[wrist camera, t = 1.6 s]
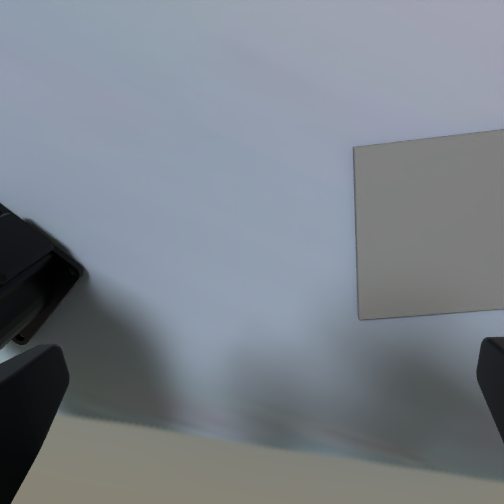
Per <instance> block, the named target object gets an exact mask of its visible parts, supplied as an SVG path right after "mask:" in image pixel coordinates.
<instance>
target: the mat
mask: <svg viewBox="0 0 504 504" xmlns="http://www.w3.org/2000/svg"><path fill="white" fill-rule="evenodd" d="M353 167H354V200H355V234H356V268H357V302H358V317H359V320H364V319H377V318H390V317H403V316H416V315H429V314H442V313H455V312H468V311H481V310H494V309H504V129H502V130H493V131H485V132H476V133H468V134H460V135H451V136H443V137H434V138H426V139H417V140H409V141H401V142H392V143H384V144H375V145H367V146H358V147H353Z"/></svg>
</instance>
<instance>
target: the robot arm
mask: <svg viewBox="0 0 504 504" xmlns="http://www.w3.org/2000/svg"><path fill="white" fill-rule="evenodd" d="M69 269H71V270H73V271H74V272H75V275H73V274H71V273H70V271H69ZM82 275H83V269H82V267H81V266H80V265H79V264H78V263H76V262H75V261H74V260H72V259H71V258H70V257H68V256H67V255H66V254H64V253H63V252H62V251H60V250H59V249H58V248H57V247H55V246H54V245H53V244H52V243H51V242H50V241H49V240H47V239H46V238H45V237H43V236H42V235H41V234H39V233H38V232H37V231H35V230H34V229H33V228H32V227H30V226H29V225H28V224H26V223H25V222H24V221H22V220H21V219H20V218H18V217H17V216H16V215H14V214H13V213H10V212H9V211H7V210H6V209H5V208H4V207H2V206H1V205H0V350H1V349H2V348H3V347H4V346H5V345H6V344H7V343H8V342H10V341H11V340H12V341H14V342H15V343H17V344H19V345H24V344H26V343H28V342H29V341H30V340H31V339H32V337H33V336H34V335H35V334H36V332H37V331H38V330H39V329H40V327H41V326H42V325H43V324H44V323H45V321H46V320H47V319H48V318H49V316H50V315H51V314H52V313H53V311H54V310H55V309H56V308H57V306H58V305H59V304H60V303H61V302H62V300H63V299H64V298H65V297H66V295H67V294H68V293H69V292H70V290H71V289H72V288H73V287H74V285H75V284H76V283H77V282H78V280H79V279H80V278H81V277H82ZM20 334H21V335H23V336H24V337H22V336H21V335H20ZM477 380H478V383H479V386H480V388H481V391H482V393H483V395H484V398H485V400H486V402H487V405H488V407H489V409H490V412H491V414H492V417H493V419H494V421H495V424H496V426H497V428H498V431H499V433H500V435H501V438H502V440H503V442H504V337H486V338H485V339H483V341H482V343H481V347H480V353H479V359H478V365H477ZM68 384H69V372H68V368H67V365H66V362H65V358H64V355H63V351H62V349H61V347H60V346H58V345H56V344H53V345H38V346H36V347H34V348H32V349H30V350H28V351H26V352H24V353H21V354H19V355H17V356H15V357H13V358H11V359H9V360H7V361H5V362H3V363H1V364H0V504H11V502H12V500H13V499H14V497H15V495H16V493H17V491H18V490H19V488H20V486H21V484H22V482H23V480H24V479H25V477H26V475H27V473H28V471H29V470H30V468H31V466H32V464H33V462H34V460H35V459H36V457H37V455H38V453H39V451H40V449H41V447H42V444H43V442H44V440H45V438H46V436H47V433H48V431H49V429H50V427H51V424H52V422H53V420H54V417H55V415H56V413H57V410H58V408H59V406H60V403H61V401H62V399H63V397H64V394H65V392H66V390H67V387H68Z"/></svg>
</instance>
